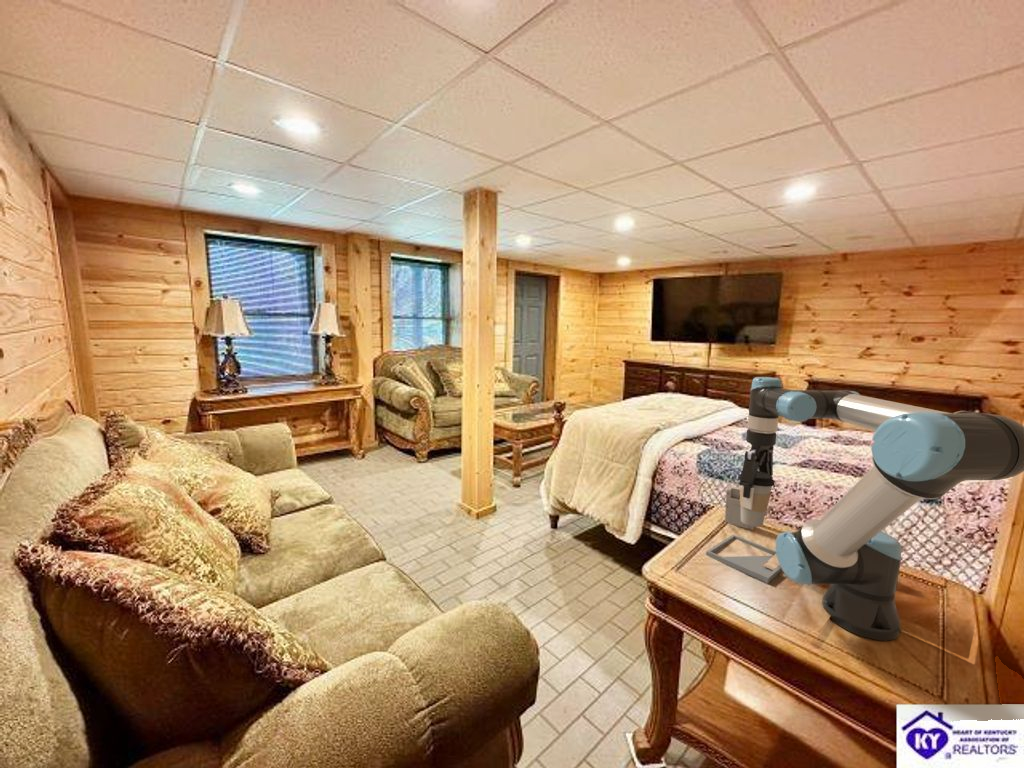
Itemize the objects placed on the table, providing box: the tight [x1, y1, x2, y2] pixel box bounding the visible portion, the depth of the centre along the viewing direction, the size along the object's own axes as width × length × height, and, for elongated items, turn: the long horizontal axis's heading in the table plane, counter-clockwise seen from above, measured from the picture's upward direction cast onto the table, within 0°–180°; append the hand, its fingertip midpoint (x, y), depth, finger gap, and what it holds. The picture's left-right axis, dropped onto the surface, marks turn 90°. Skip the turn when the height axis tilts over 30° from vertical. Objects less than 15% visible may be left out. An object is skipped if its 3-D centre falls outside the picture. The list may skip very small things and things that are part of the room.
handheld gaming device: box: [724, 485, 755, 531], centre depth 150 cm, size 9×15×4 cm
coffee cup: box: [738, 470, 776, 528], centre depth 129 cm, size 9×9×15 cm
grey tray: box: [705, 534, 783, 585], centre depth 131 cm, size 18×18×2 cm
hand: (754, 503), depth 129 cm, fingers closed on coffee cup, 9 cm apart
